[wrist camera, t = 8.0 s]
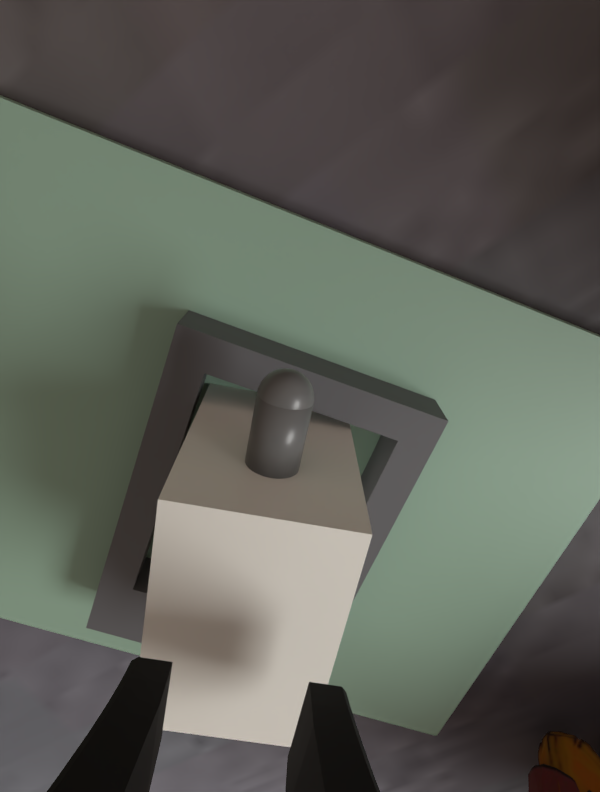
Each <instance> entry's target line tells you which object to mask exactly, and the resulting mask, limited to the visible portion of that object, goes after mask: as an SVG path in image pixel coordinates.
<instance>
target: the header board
mask: <svg viewBox="0 0 600 792" xmlns="http://www.w3.org/2000/svg"><path fill="white" fill-rule="evenodd" d="M283 368H287V369H293V370H296V371H298V372H300V373H302V374H303V375H304V376H305V377H306V378H307V379H308V380H309V381H310V383H311V385H312V388H313V391H314V404H313V409H312V411H313V412H316V413H319V414H322V415H325V416H328V417H331V418H334V419H336V420H339V421H342V422H345V423H348V424H350V428H351V433H352V438H353V442H354V447H355V452H356V457H357V462H358V467H359V471H360V476H361V481H362V486H363V491H364V496H365V501H366V505H367V510H368V515H369V520H370V525H371V530H372V538H371V542H370V545H369V548H368V552H367V555H366V558H365V562H364V565H363V568H362V572H361V575H360V578H359V582H358V585H357V589H356V592H355V595H354V599H353V602H352V605H351V609H350V612H349V615H348V619H347V622H346V626H345V629H344V632H343V636H342V639H341V642H340V646H339V649H338V652H337V656H336V659H335V662H334V666H333V669H332V673H331V676H330V679H329V683H328V685H334V686H341V687H343V689H344V690H345V691H346V693H347V697H348V700H349V704H350V707H351V710H352V713H353V714H357V715H360V716H364V717H368V718H372V719H375V720H379V721H383V722H386V723H390V724H394V725H397V726H401V727H405V728H408V729H412V730H416V731H419V732H423V733H427V734H430V735H434V736H437V735H438V733H439V732H440V730H441V729H442V727H443V726H444V725H445V723H446V722H447V720H448V719H449V717H450V716H451V714H452V713H453V711H454V710H455V709H456V707H457V706H458V704H459V703H460V701H461V700H462V698H463V697H464V695H465V694H466V693H467V691H468V690H469V688H470V687H471V685H472V684H473V682H474V681H475V679H476V678H477V677H478V675H479V674H480V672H481V671H482V669H483V668H484V666H485V665H486V663H487V662H488V661H489V659H490V658H491V656H492V655H493V653H494V652H495V650H496V649H497V647H498V646H499V645H500V643H501V642H502V640H503V639H504V637H505V636H506V634H507V633H508V631H509V630H510V629H511V627H512V626H513V624H514V623H515V621H516V620H517V618H518V617H519V615H520V614H521V613H522V611H523V610H524V608H525V607H526V605H527V604H528V602H529V601H530V599H531V598H532V597H533V595H534V594H535V592H536V591H537V589H538V588H539V586H540V585H541V583H542V582H543V581H544V579H545V578H546V576H547V575H548V573H549V572H550V570H551V569H552V567H553V566H554V565H555V563H556V562H557V560H558V559H559V557H560V556H561V554H562V553H563V552H564V550H565V549H566V547H567V546H568V544H569V543H570V541H571V540H572V538H573V537H574V536H575V534H576V533H577V531H578V530H579V528H580V527H581V525H582V524H583V522H584V521H585V520H586V518H587V517H588V515H589V514H590V512H591V511H592V509H593V508H594V506H595V505H596V504H597V502H598V501H599V499H600V335H599V334H596V333H594V332H591V331H589V330H586V329H584V328H581V327H579V326H576V325H574V324H571V323H569V322H566V321H564V320H561V319H559V318H556V317H554V316H551V315H549V314H546V313H544V312H541V311H539V310H536V309H534V308H531V307H529V306H526V305H524V304H521V303H519V302H516V301H514V300H511V299H509V298H506V297H504V296H501V295H499V294H496V293H494V292H491V291H489V290H486V289H484V288H481V287H479V286H476V285H474V284H471V283H469V282H466V281H464V280H461V279H459V278H456V277H454V276H451V275H449V274H446V273H444V272H441V271H439V270H436V269H434V268H431V267H429V266H426V265H424V264H421V263H419V262H416V261H414V260H411V259H409V258H406V257H404V256H401V255H399V254H396V253H394V252H391V251H389V250H386V249H384V248H381V247H379V246H376V245H374V244H371V243H369V242H366V241H364V240H361V239H359V238H356V237H354V236H351V235H349V234H346V233H344V232H341V231H339V230H336V229H334V228H331V227H329V226H326V225H324V224H321V223H319V222H316V221H314V220H311V219H309V218H306V217H304V216H301V215H299V214H296V213H294V212H291V211H289V210H286V209H284V208H281V207H279V206H276V205H274V204H271V203H269V202H266V201H264V200H261V199H259V198H256V197H254V196H251V195H249V194H246V193H244V192H241V191H239V190H236V189H234V188H231V187H229V186H226V185H224V184H221V183H219V182H216V181H214V180H211V179H209V178H206V177H204V176H201V175H199V174H196V173H194V172H191V171H189V170H186V169H184V168H181V167H179V166H176V165H174V164H171V163H169V162H166V161H164V160H161V159H159V158H156V157H154V156H151V155H149V154H146V153H144V152H141V151H139V150H136V149H134V148H131V147H129V146H126V145H124V144H121V143H119V142H116V141H114V140H111V139H109V138H106V137H104V136H101V135H99V134H96V133H94V132H91V131H89V130H86V129H84V128H81V127H79V126H76V125H74V124H71V123H69V122H66V121H64V120H61V119H59V118H56V117H54V116H51V115H49V114H46V113H44V112H41V111H39V110H36V109H34V108H31V107H29V106H26V105H24V104H21V103H19V102H16V101H14V100H11V99H9V98H6V97H4V96H1V95H0V618H3V619H7V620H11V621H14V622H18V623H22V624H25V625H29V626H33V627H36V628H40V629H44V630H47V631H51V632H55V633H58V634H62V635H66V636H70V637H73V638H77V639H81V640H84V641H88V642H92V643H95V644H99V645H103V646H106V647H110V648H114V649H117V650H121V651H125V652H128V653H132V654H136V655H140V653H141V644H142V635H143V627H144V618H145V609H146V600H147V591H148V582H149V574H150V565H151V556H152V547H153V538H154V530H155V521H156V512H157V503H158V498H159V496H160V494H161V491H162V489H163V487H164V485H165V482H166V480H167V478H168V476H169V474H170V471H171V469H172V467H173V465H174V462H175V460H176V458H177V456H178V454H179V451H180V449H181V447H182V445H183V442H184V440H185V438H186V436H187V433H188V431H189V429H190V427H191V425H192V422H193V420H194V418H195V416H196V413H197V411H198V409H199V407H200V405H201V402H202V400H203V398H204V396H205V393H206V391H207V389H208V387H209V385H210V383H211V384H216V385H222V386H227V387H233V388H238V389H244V390H249V391H255V392H257V390H258V387H259V385H260V383H261V381H262V380H263V379H264V378H265V376H267V375H268V374H269V373H271V372H273V371H275V370H278V369H283Z"/></svg>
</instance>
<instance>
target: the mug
mask: <svg viewBox="0 0 600 792" xmlns="http://www.w3.org/2000/svg"><path fill="white" fill-rule="evenodd" d="M538 761H539V765H536V766H534V767H533V768H532V769H531V771H530V773H529V774H528V779H529V792H600V757H599V756H598V755H597V754H596V752H595V751H594V750H593V749H592V748H591V746H590V745H589V744H588V743H586V742H585V741H583V740H582V739H580V740H579V739H578V738H577V737H576V736H574V735H570V734H567V733H563V732H548V733H546V735H545V736H544V737H543V739H542V742H541V743H540V745H539V750H538Z"/></svg>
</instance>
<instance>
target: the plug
mask: <svg viewBox="0 0 600 792" xmlns="http://www.w3.org/2000/svg"><path fill="white" fill-rule="evenodd" d="M313 404H314V391H313V388H312V385H311V383H310V381H309V380H308V379H307V378H306V377H305V376H304V375H303V374H302V373H300V372H298V371H296V370H293V369H287V368H283V369H278V370H275V371H273V372H271V373H269V374H268V375H267V376H265V378H264V379H263V380H262V381H261V383H260V385H259V387H258V390H257V392H255V391H249V390H244V389H238V388H233V387H227V386H222V385H216V384H211V383H210V385H209V387H208V389H207V391H206V393H205V396H204V398H203V400H202V402H201V405H200V407H199V409H198V411H197V413H196V416H195V418H194V420H193V422H192V425H191V427H190V429H189V431H188V433H187V436H186V438H185V440H184V442H183V445H182V447H181V449H180V451H179V454H178V456H177V458H176V460H175V462H174V465H173V467H172V469H171V471H170V474H169V476H168V478H167V480H166V482H165V485H164V487H163V489H162V491H161V494H160V496H159V498H158V503H157V512H156V521H155V530H154V538H153V547H152V556H151V565H150V574H149V582H148V591H147V600H146V609H145V618H144V627H143V635H142V644H141V653H140V657H142V658H149V659H156V660H163V661H170V662H173V663H172V670H171V676H170V683H169V690H168V697H167V703H166V710H165V717H164V723H163V730H166V731H173V732H181V733H188V734H196V735H203V736H211V737H218V738H226V739H233V740H241V741H248V742H255V743H263V744H270V745H278V746H285V747H291V744H292V741H293V737H294V734H295V730H296V726H297V723H298V719H299V716H300V712H301V709H302V705H303V702H304V698H305V695H306V691H307V688H308V684H309V682H314V683H321V684H328V683H329V679H330V676H331V673H332V669H333V666H334V662H335V659H336V656H337V652H338V649H339V646H340V642H341V639H342V636H343V632H344V629H345V626H346V622H347V619H348V615H349V612H350V609H351V605H352V602H353V599H354V595H355V592H356V589H357V585H358V582H359V578H360V575H361V572H362V568H363V565H364V562H365V558H366V555H367V552H368V548H369V545H370V542H371V538H372V530H371V525H370V520H369V515H368V510H367V505H366V501H365V496H364V491H363V486H362V481H361V476H360V471H359V467H358V462H357V457H356V452H355V447H354V442H353V438H352V433H351V428H350V424H348V423H345V422H342V421H339V420H336V419H334V418H331V417H328V416H325V415H322V414H319V413H316V412H313V411H312V409H313Z"/></svg>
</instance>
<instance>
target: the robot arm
mask: <svg viewBox="0 0 600 792" xmlns="http://www.w3.org/2000/svg"><path fill="white" fill-rule="evenodd" d="M172 663H173V662H170V661H163V660H156V659H149V658H142V657H138V658H136V659H134V660H132V661H131V663H130V665H129V667H128V669H127V671H126V673H125V675H124V676H123V678H122V680H121V682H120V683H119V685H118V687H117V689H116V690H115V692H114V694H113V695H112V697H111V699H110V700H109V702H108V704H107V705H106V707H105V708H104V710H103V712H102V713H101V715H100V716H99V718H98V719H97V721H96V722H95V724H94V725H93V727H92V728H91V730H90V732H89V733H88V735H87V736H86V737H85V739H84V740H83V742H82V743H81V745H80V746H79V747H78V749H77V750H76V752H75V753H74V754H73V756H72V757H71V759H70V760H69V762H68V763H67V764H66V766H65V767H64V769H63V770H62V771H61V773H60V774H59V776H58V777H57V779H56V780H55V781H54V783H53V784H52V785H51V787H50V788H49V789H48V791H47V792H149V790H150V785H151V781H152V777H153V772H154V768H155V764H156V760H157V755H158V751H159V747H160V742H161V737H162V730H163V723H164V717H165V710H166V703H167V697H168V690H169V683H170V676H171V670H172ZM286 792H380V790H379V788H378V785H377V783H376V780H375V777H374V775H373V772H372V769H371V766H370V764H369V761H368V758H367V755H366V753H365V750H364V747H363V744H362V741H361V738H360V735H359V732H358V729H357V726H356V723H355V720H354V717H353V713H352V710H351V707H350V704H349V700H348V697H347V693H346V691H345V690H344V689H343V687H341V686H334V685H328V684H321V683H314V682H309V684H308V688H307V691H306V695H305V698H304V702H303V705H302V709H301V712H300V716H299V719H298V723H297V726H296V730H295V734H294V737H293V741H292V744H291V748H290V751H289V755H288V762H287V778H286Z"/></svg>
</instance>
